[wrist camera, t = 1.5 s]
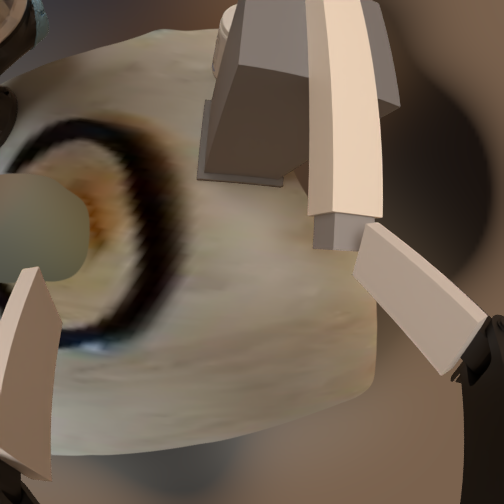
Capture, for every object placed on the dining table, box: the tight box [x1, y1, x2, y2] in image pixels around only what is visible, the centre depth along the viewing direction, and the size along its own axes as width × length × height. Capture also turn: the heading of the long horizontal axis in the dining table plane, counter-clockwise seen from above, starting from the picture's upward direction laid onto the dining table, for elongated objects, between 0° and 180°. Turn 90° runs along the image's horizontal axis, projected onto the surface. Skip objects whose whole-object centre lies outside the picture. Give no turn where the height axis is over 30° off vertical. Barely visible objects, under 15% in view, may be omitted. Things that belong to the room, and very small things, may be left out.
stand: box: [197, 0, 400, 187], centre depth 32 cm, size 14×14×32 cm
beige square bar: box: [305, 0, 383, 251], centre depth 15 cm, size 3×28×3 cm, turn 177°
